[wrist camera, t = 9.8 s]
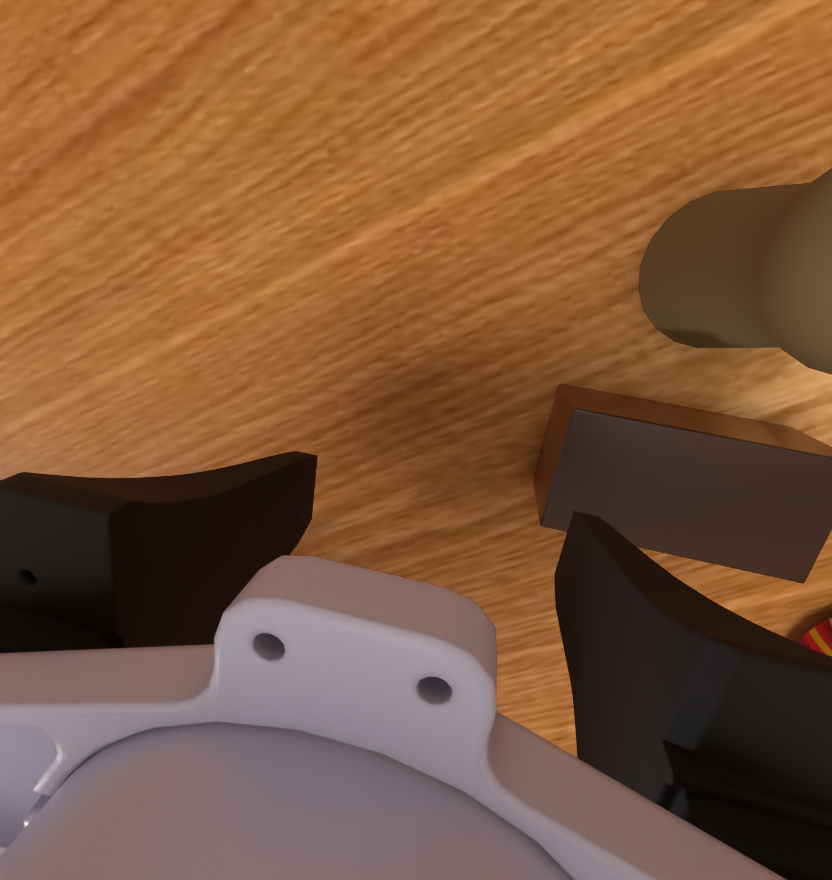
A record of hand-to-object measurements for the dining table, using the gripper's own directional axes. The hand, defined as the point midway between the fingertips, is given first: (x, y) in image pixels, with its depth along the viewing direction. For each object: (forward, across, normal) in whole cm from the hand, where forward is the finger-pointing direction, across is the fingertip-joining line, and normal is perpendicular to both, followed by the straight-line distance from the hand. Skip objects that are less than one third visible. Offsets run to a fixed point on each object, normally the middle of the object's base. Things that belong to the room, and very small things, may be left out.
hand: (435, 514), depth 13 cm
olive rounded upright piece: (+11, -9, -8) cm, 16 cm away
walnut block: (+10, -9, 0) cm, 14 cm away
